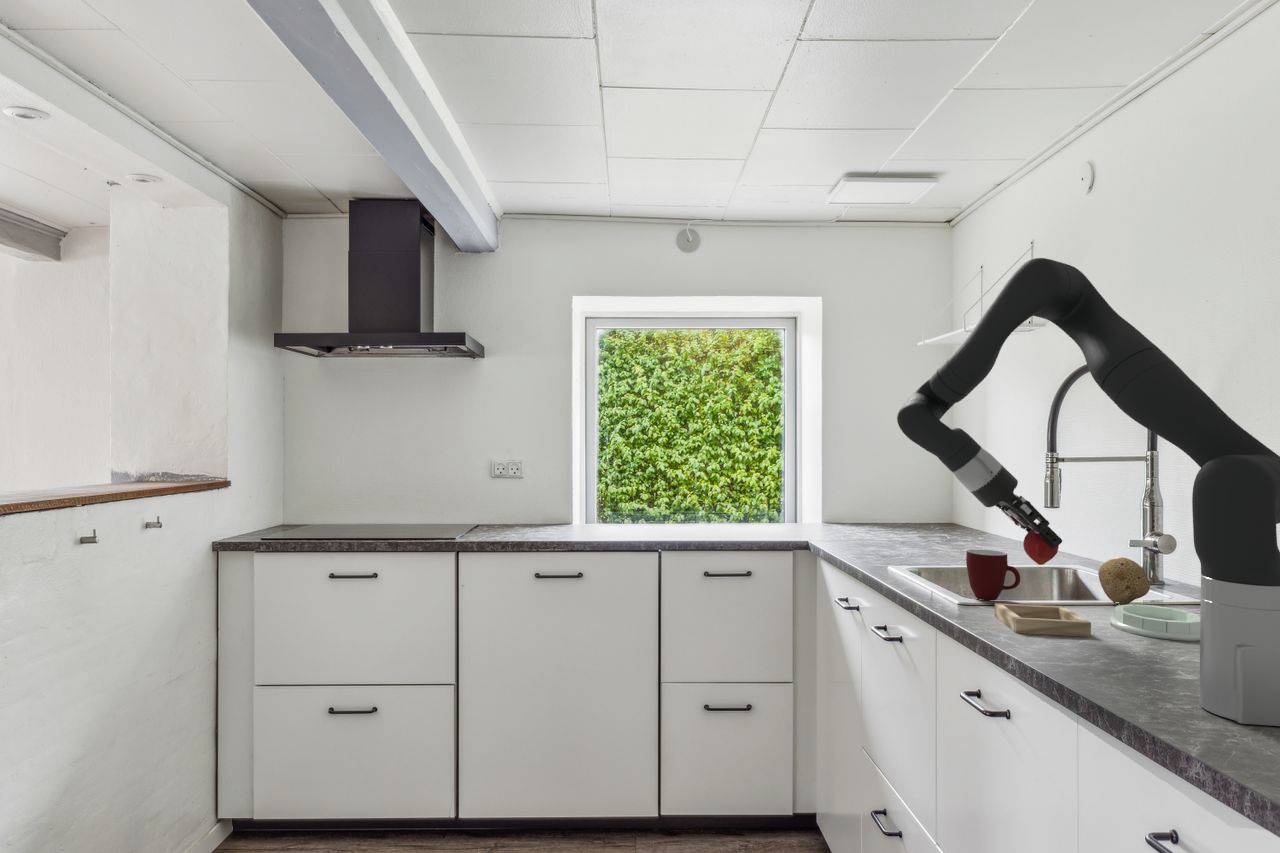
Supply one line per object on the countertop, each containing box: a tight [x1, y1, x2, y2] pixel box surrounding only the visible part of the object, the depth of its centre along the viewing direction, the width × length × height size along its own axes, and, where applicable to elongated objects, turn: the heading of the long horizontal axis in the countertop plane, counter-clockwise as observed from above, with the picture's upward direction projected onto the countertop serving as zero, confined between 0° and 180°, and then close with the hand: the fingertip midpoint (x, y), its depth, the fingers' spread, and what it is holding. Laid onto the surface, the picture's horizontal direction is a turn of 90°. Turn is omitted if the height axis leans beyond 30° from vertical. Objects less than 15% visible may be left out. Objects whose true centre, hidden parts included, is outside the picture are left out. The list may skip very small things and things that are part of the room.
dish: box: [1109, 603, 1200, 642], centre depth 139 cm, size 15×15×3 cm
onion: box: [1022, 521, 1060, 566], centre depth 140 cm, size 6×6×8 cm
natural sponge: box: [1097, 557, 1151, 605], centre depth 158 cm, size 9×9×10 cm
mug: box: [965, 549, 1021, 602], centre depth 162 cm, size 11×8×10 cm
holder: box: [994, 602, 1092, 638], centre depth 140 cm, size 12×12×2 cm
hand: (1050, 542), depth 140 cm, fingers closed on onion, 6 cm apart
